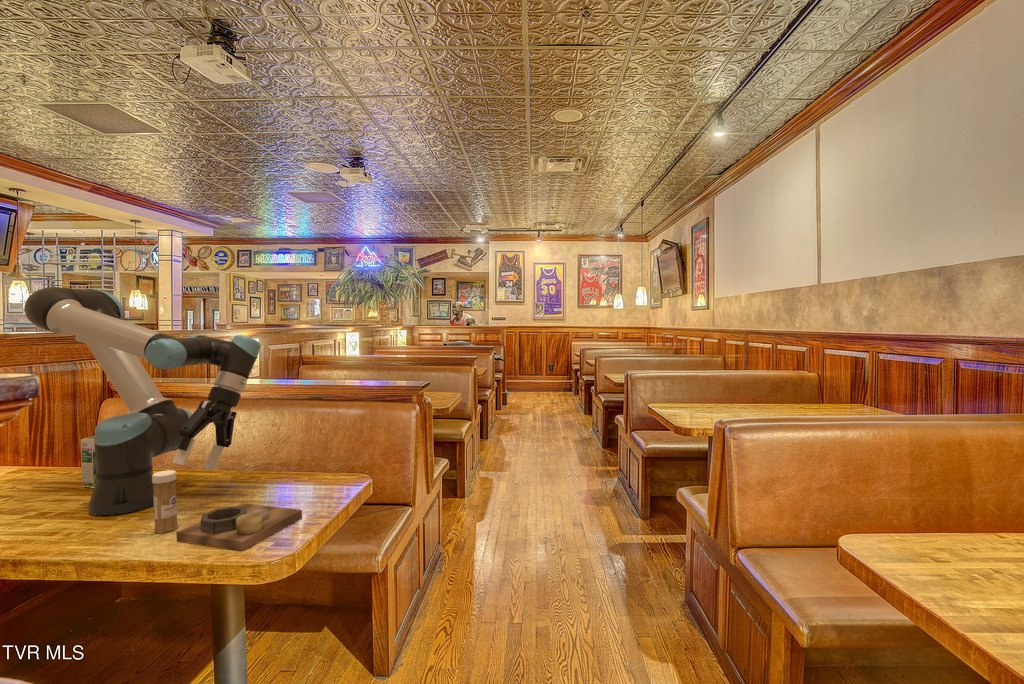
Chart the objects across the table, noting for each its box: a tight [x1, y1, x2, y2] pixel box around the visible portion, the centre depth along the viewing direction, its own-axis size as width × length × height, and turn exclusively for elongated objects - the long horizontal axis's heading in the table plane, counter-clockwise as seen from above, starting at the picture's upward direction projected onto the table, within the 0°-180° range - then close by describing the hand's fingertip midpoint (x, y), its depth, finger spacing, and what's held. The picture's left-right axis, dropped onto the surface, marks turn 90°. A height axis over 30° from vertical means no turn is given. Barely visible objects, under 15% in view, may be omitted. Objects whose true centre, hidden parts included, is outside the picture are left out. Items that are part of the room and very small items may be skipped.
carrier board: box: [175, 502, 303, 552], centre depth 114 cm, size 18×18×5 cm
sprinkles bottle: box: [152, 469, 179, 534], centre depth 114 cm, size 5×5×14 cm
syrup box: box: [80, 435, 97, 487], centre depth 146 cm, size 6×6×14 cm
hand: (194, 466), depth 130 cm, fingers open, 13 cm apart
